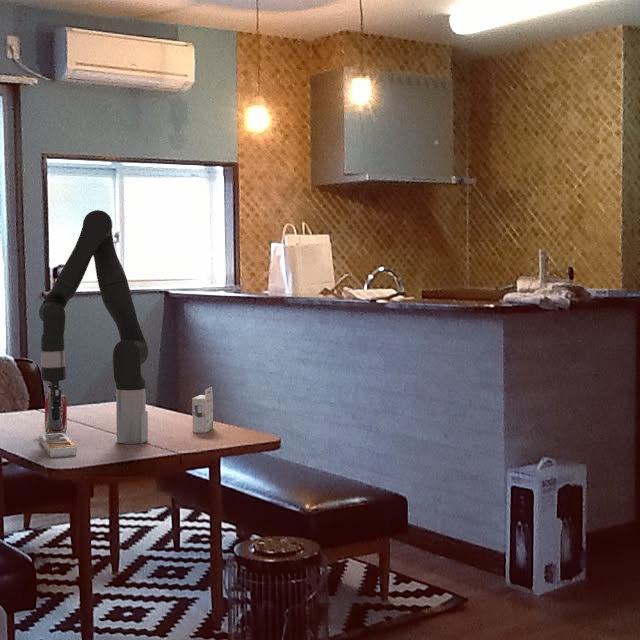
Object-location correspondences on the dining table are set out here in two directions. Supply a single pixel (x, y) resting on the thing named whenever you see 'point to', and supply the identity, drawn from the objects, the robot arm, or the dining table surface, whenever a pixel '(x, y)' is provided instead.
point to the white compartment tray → (58, 445)
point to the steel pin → (53, 423)
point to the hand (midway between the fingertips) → (54, 418)
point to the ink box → (203, 412)
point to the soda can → (63, 416)
